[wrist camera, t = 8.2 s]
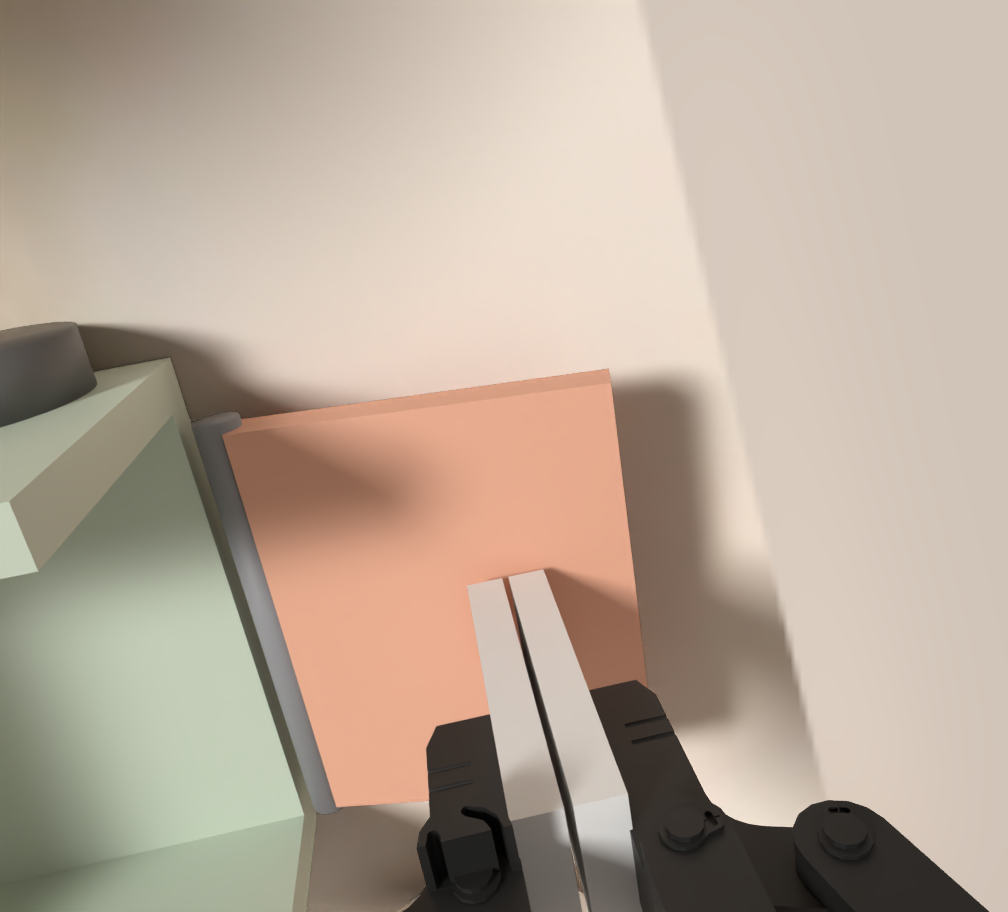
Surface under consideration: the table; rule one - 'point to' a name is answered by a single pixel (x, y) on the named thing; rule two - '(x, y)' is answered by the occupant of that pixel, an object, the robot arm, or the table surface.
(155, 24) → the table surface
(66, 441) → the truck bed
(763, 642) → the table surface
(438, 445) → the panel
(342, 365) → the table surface
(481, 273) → the table surface
